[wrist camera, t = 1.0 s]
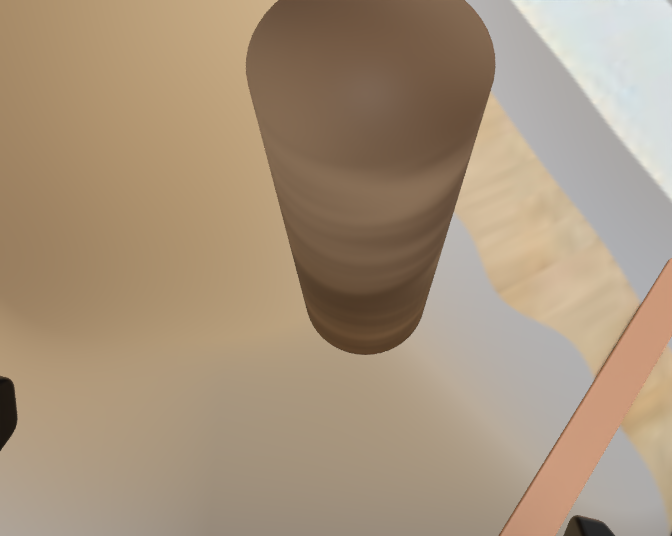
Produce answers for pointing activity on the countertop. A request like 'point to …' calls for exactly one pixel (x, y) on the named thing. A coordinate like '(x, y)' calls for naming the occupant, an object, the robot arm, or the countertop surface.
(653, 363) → the terracotta line strip
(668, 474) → the countertop surface
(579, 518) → the robot arm
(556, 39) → the countertop surface
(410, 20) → the smooth brown cylinder
